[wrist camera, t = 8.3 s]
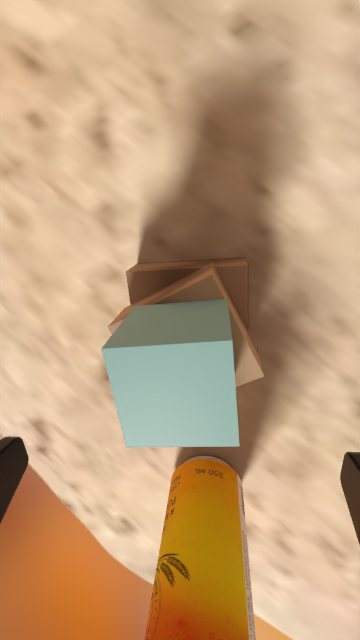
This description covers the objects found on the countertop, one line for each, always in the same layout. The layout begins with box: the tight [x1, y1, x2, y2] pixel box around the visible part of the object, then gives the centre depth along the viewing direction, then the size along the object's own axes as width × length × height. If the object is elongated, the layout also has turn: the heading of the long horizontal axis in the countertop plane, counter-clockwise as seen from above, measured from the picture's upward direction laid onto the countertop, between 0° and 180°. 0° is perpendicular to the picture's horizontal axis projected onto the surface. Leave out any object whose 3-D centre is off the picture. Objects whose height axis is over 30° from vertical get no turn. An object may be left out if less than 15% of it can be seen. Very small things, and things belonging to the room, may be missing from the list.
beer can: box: [145, 456, 256, 640], centre depth 18 cm, size 6×6×15 cm
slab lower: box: [126, 257, 249, 331], centre depth 19 cm, size 7×7×3 cm
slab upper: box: [108, 263, 264, 387], centre depth 16 cm, size 6×6×3 cm
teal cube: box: [102, 298, 240, 448], centre depth 12 cm, size 4×4×4 cm
